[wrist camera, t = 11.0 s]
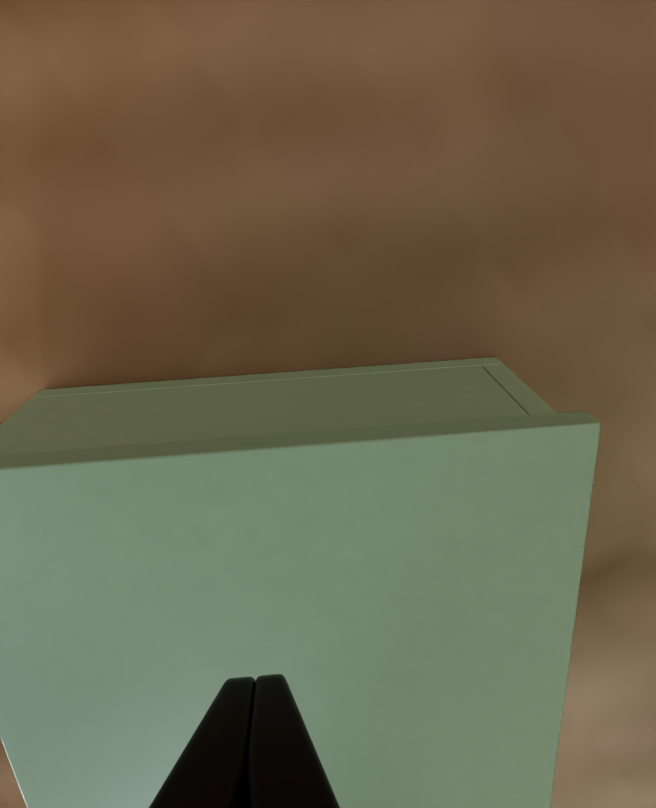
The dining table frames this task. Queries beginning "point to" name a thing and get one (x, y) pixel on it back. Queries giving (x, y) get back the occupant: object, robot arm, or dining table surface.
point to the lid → (298, 605)
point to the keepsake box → (267, 405)
